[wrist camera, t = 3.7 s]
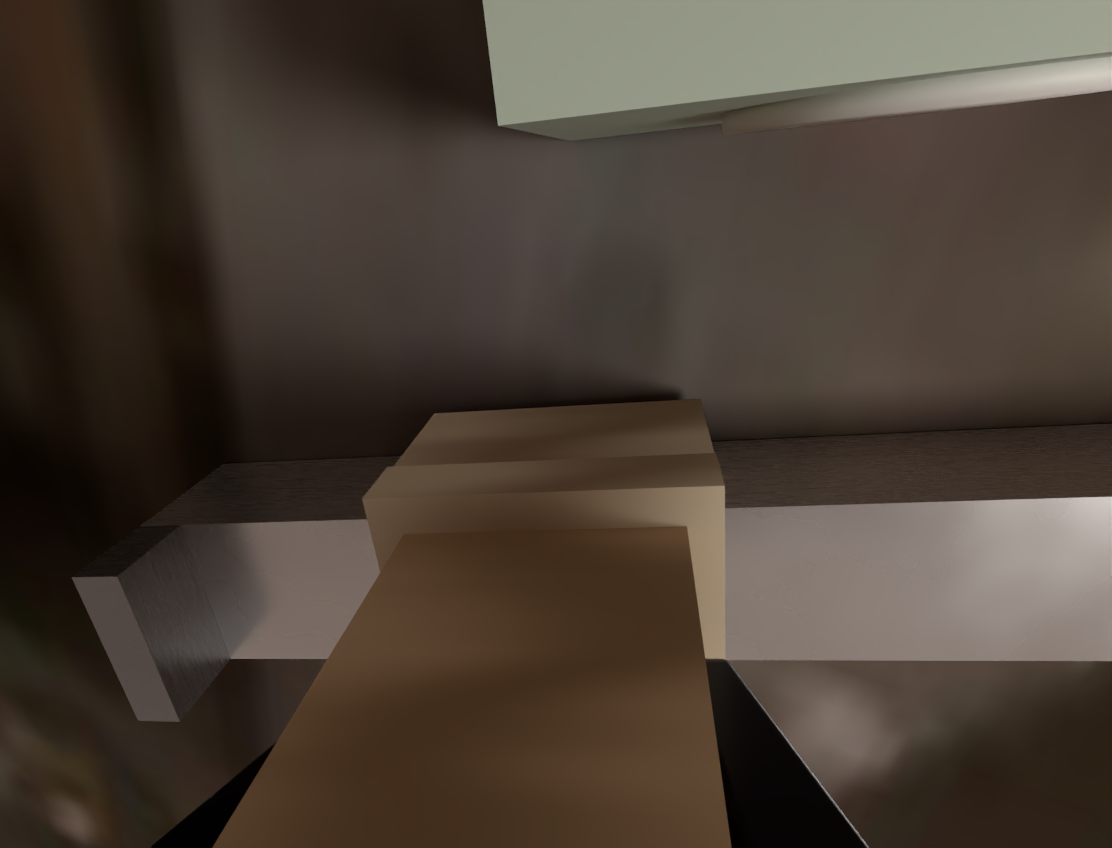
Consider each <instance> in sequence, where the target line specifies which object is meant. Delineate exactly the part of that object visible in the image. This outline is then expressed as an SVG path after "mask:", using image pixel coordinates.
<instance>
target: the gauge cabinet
mask: <svg viewBox="0 0 1112 848" xmlns="http://www.w3.org/2000/svg"><path fill="white" fill-rule="evenodd" d="M483 8H484V16H485V24H486V32H487V40H488V48H489V57H490V65H491V73H492V81H493V89H494V97H495V105H496V113H497V121H498V126H502V127H506V128H511V129H516V130H521V131H525V132H530V133H535V134H539V135H544V136H549V137H554V138H558V139H563V140H568V141H575V140H584V139H593V138H601V137H610V136H619V135H627V134H636V133H645V132H653V131H662V130H671V129H680V128H688V127H697V126H706V125H714V124H722V134H738V133H749V132H759V131H769V130H779V129H789V128H798V127H808V126H817V125H826V124H835V123H844V122H853V121H862V120H871V119H880V118H888V117H897V116H906V115H914V114H923V113H931V112H940V111H949V110H957V109H965V108H974V107H982V106H990V105H999V104H1007V103H1015V102H1023V101H1031V100H1039V99H1048V98H1056V97H1064V96H1071V95H1079V94H1087V93H1095V92H1103V91H1110V90H1112V0H483Z"/></svg>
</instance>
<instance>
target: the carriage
mask: <svg viewBox="0 0 1112 848" xmlns="http://www.w3.org/2000/svg"><path fill="white" fill-rule="evenodd" d="M362 500H363V505H364V509H365V513H366V517H367V521H368V525H369V529H370V533H371V537H372V541H373V545H374V549H375V553H376V557H377V562H378V566H379V570H380V574H379V576H378V577H377V579H376V580H375V582H374V584H373V585H372V587H371V589H370V590H369V592H368V594H367V595H366V597H365V598H364V600H363V602H362V603H361V605H360V607H359V608H358V610H357V612H356V613H355V615H354V616H353V618H352V620H351V621H350V623H349V625H348V626H347V628H346V630H345V631H344V633H343V634H342V636H341V638H340V639H339V641H338V643H337V644H336V646H335V648H334V649H333V651H332V653H331V654H330V656H329V657H328V659H327V661H326V662H325V664H324V666H323V667H322V669H321V671H320V672H319V674H318V675H317V677H316V679H315V680H314V682H313V684H312V685H311V687H310V689H309V690H308V692H307V693H306V695H305V697H304V698H303V700H302V702H301V703H300V705H299V707H298V708H297V710H296V711H295V713H294V715H293V716H292V718H291V720H290V721H289V723H288V725H287V726H286V728H285V729H284V731H283V733H282V734H281V736H280V738H279V739H278V741H277V743H276V744H275V746H274V747H273V749H272V751H271V752H270V754H269V756H268V757H267V759H266V761H265V762H264V764H263V766H262V767H261V769H260V770H259V772H258V774H257V775H256V777H255V779H254V780H253V782H252V784H251V785H250V787H249V788H248V790H247V792H246V793H245V795H244V797H243V798H242V800H241V802H240V803H239V805H238V806H237V808H236V810H235V811H234V813H233V815H232V816H231V818H230V820H229V821H228V823H227V824H226V826H225V828H224V829H223V831H222V833H221V834H220V836H219V838H218V839H217V841H216V842H215V844H214V846H213V847H212V848H731V840H730V833H729V826H728V819H727V812H726V804H725V797H724V790H723V783H722V776H721V768H720V761H719V754H718V747H717V739H716V732H715V725H714V718H713V711H712V703H711V696H710V689H709V682H708V675H707V667H706V660H705V658H711V659H725V484H724V480H723V477H722V473H721V469H720V466H719V462H718V458H717V455H716V453H714V449H713V446H712V442H711V438H710V434H709V430H708V427H707V423H706V419H705V415H704V412H703V408H702V404H701V400H700V399H688V400H670V401H652V402H634V403H615V404H597V405H579V406H561V407H543V408H524V409H506V410H488V411H470V412H452V413H434V415H433V416H432V417H431V419H430V420H429V421H428V422H427V424H426V425H425V426H424V428H423V429H422V430H421V431H420V433H419V434H418V435H417V437H416V438H415V439H414V440H413V442H412V443H411V444H410V446H409V447H408V448H407V449H406V451H405V452H404V453H403V455H402V456H401V457H400V458H399V460H398V461H397V462H396V464H395V465H394V466H393V467H387V468H386V469H385V470H384V472H383V473H382V474H381V475H380V477H379V478H378V479H377V480H376V482H375V483H374V484H373V485H372V487H371V488H370V489H369V490H368V492H367V493H366V494H365V495H364V497H363V498H362Z"/></svg>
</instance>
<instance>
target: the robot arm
mask: <svg viewBox="0 0 1112 848" xmlns="http://www.w3.org/2000/svg"><path fill="white" fill-rule="evenodd" d="M705 660H706V667H707V675H708V682H709V689H710V696H711V703H712V711H713V718H714V725H715V732H716V739H717V747H718V754H719V761H720V768H721V776H722V783H723V790H724V797H725V804H726V812H727V819H728V826H729V833H730V840H731V848H869V846H868V845H867V844H866V842H865V841H864V840H863V838H862V837H861V836H860V834H859V833H858V832H857V830H856V829H855V828H854V826H853V825H852V824H851V822H850V821H849V820H848V819H847V817H846V816H845V815H844V813H843V812H842V811H841V809H840V808H839V807H838V805H837V804H836V803H835V801H834V800H833V799H832V797H831V796H830V795H829V793H828V792H827V791H826V789H825V788H824V787H823V785H822V784H821V783H820V782H819V780H818V779H817V778H816V776H815V775H814V774H813V772H812V771H811V770H810V768H809V767H808V766H807V764H806V763H805V762H804V760H803V759H802V758H801V756H800V755H799V754H798V752H797V751H796V750H795V748H794V747H793V746H792V744H791V743H790V742H789V741H788V739H787V738H786V737H785V735H784V734H783V733H782V731H781V730H780V729H779V727H778V726H777V725H776V723H775V722H774V721H773V719H772V718H771V717H770V715H769V714H768V713H767V711H766V710H765V709H764V707H763V706H762V705H761V704H760V702H759V701H758V700H757V698H756V697H755V696H754V694H753V693H752V692H751V690H750V689H749V688H748V686H747V685H746V684H745V682H744V681H743V680H742V678H741V677H740V676H739V674H738V673H737V672H736V670H735V669H734V668H733V667H732V665H731V664H730V663H729V662H728V661H727V660H725V659H711V658H705ZM276 743H277V742H276ZM276 743H274V744H273V745H272V746H271V747H270V748H268V749H267V750H266V751H265V752H264V753H262V754H261V755H260V756H259V757H258V758H256V759H255V760H254V761H253V762H252V763H250V764H249V765H248V766H247V767H246V768H244V769H243V770H242V771H241V772H240V773H238V774H237V775H236V776H235V777H234V778H232V779H231V780H230V781H229V782H228V783H226V784H225V785H224V786H223V787H222V788H220V789H219V790H218V791H217V792H216V793H214V794H213V795H212V796H211V797H210V798H208V799H207V800H206V801H205V802H204V803H202V804H201V805H200V806H199V807H198V808H197V809H195V810H194V811H193V812H192V813H191V814H189V815H188V816H187V817H186V818H185V819H183V820H182V821H181V822H180V823H179V824H177V825H176V826H175V827H174V828H173V829H171V830H170V831H169V832H168V833H167V834H165V835H164V836H163V837H162V838H161V839H159V840H158V841H157V842H156V843H155V844H153V845H152V847H151V848H212V847H213V846H214V844H215V842H216V841H217V839H218V838H219V836H220V834H221V833H222V831H223V829H224V828H225V826H226V824H227V823H228V821H229V820H230V818H231V816H232V815H233V813H234V811H235V810H236V808H237V806H238V805H239V803H240V802H241V800H242V798H243V797H244V795H245V793H246V792H247V790H248V788H249V787H250V785H251V784H252V782H253V780H254V779H255V777H256V775H257V774H258V772H259V770H260V769H261V767H262V766H263V764H264V762H265V761H266V759H267V757H268V756H269V754H270V752H271V751H272V749H273V747H274V746H275V744H276Z"/></svg>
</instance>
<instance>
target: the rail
mask: <svg viewBox="0 0 1112 848" xmlns="http://www.w3.org/2000/svg"><path fill="white" fill-rule="evenodd" d="M712 446H713V449H714V453H716V455H717V458H718V462H719V466H720V469H721V473H722V477H723V480H724V484H725V660H918V661H1112V424H1093V425H1071V426H1049V427H1027V428H1005V429H983V430H961V431H939V432H917V433H895V434H873V435H851V436H829V437H807V438H784V439H762V440H740V441H718V442H712ZM400 457H401V456H387V457H365V458H343V459H321V460H299V461H277V462H255V463H233V464H222V465H221V466H220V467H218V468H217V469H216V470H214V471H213V472H212V473H210V474H209V475H208V476H206V477H205V478H204V479H202V480H201V481H200V482H198V483H197V484H196V485H194V486H193V487H192V488H190V489H189V490H188V491H186V492H185V493H184V494H182V495H181V496H180V497H178V498H177V499H175V500H174V501H173V502H171V503H170V504H169V505H167V506H166V507H165V508H163V509H162V510H161V511H159V512H158V513H157V514H155V515H154V516H153V517H151V518H150V519H149V520H147V521H146V522H145V523H143V524H142V525H141V526H139V527H138V528H137V529H135V530H134V531H133V532H131V533H130V534H129V535H127V536H126V537H125V538H123V539H122V540H121V541H119V542H118V543H117V544H115V545H114V546H113V547H111V548H110V549H109V550H107V551H106V552H105V553H103V554H102V555H101V556H99V557H98V558H97V559H95V560H94V561H93V562H91V563H90V564H89V565H87V566H86V567H85V568H83V569H82V570H81V571H79V572H78V573H77V574H75V575H74V576H73V577H72V579H73V581H74V584H75V586H76V588H77V590H78V592H79V594H80V596H81V599H82V601H83V603H84V605H85V607H86V609H87V612H88V614H89V616H90V618H91V620H92V622H93V624H94V627H95V629H96V631H97V633H98V635H99V637H100V640H101V642H102V644H103V646H104V648H105V650H106V652H107V655H108V657H109V659H110V661H111V663H112V665H113V668H114V670H115V672H116V674H117V676H118V678H119V680H120V683H121V685H122V687H123V689H124V691H125V693H126V696H127V698H128V700H129V702H130V704H131V706H132V708H133V711H134V713H135V715H136V717H137V719H138V721H176V722H180V721H181V720H182V718H183V717H184V716H185V715H186V713H187V712H188V711H189V710H190V708H191V707H192V706H193V705H194V703H195V702H196V701H197V700H198V698H199V697H200V696H201V695H202V693H203V692H204V691H205V690H206V688H207V687H208V686H209V685H210V683H211V682H212V681H213V680H214V678H215V677H216V676H217V675H218V673H219V672H220V671H221V670H222V669H223V667H224V666H225V665H226V664H227V662H228V661H229V660H230V659H328V657H329V656H330V654H331V653H332V651H333V649H334V648H335V646H336V644H337V643H338V641H339V639H340V638H341V636H342V634H343V633H344V631H345V630H346V628H347V626H348V625H349V623H350V621H351V620H352V618H353V616H354V615H355V613H356V612H357V610H358V608H359V607H360V605H361V603H362V602H363V600H364V598H365V597H366V595H367V594H368V592H369V590H370V589H371V587H372V585H373V584H374V582H375V580H376V579H377V577H378V576H379V574H380V570H379V566H378V562H377V557H376V553H375V549H374V545H373V541H372V537H371V533H370V529H369V525H368V521H367V517H366V513H365V509H364V505H363V500H362V498H363V497H364V495H365V494H366V493H367V492H368V490H369V489H370V488H371V487H372V485H373V484H374V483H375V482H376V480H377V479H378V478H379V477H380V475H381V474H382V473H383V472H384V470H385V469H386V468H387V467H393V466H394V465H395V464H396V462H397V461H398V460H399V458H400Z"/></svg>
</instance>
